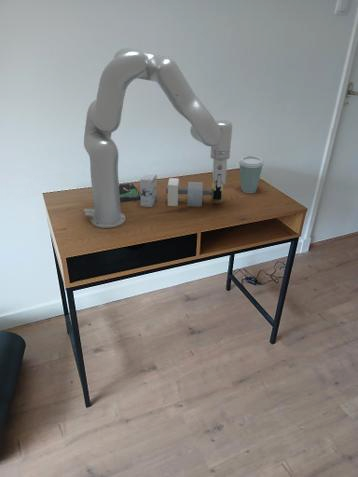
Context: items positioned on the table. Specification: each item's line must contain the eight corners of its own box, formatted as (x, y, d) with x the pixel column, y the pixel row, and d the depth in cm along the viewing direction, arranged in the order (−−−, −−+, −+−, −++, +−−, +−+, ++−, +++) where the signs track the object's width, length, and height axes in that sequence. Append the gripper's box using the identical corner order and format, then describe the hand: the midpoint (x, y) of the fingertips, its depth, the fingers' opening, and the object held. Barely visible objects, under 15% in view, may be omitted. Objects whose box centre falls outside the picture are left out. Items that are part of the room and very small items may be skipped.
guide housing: (187, 206, 151) (187, 187, 147) (187, 199, 157) (188, 181, 153) (201, 206, 150) (202, 188, 146) (201, 199, 156) (202, 182, 152)
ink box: (146, 198, 157) (145, 172, 151) (157, 199, 156) (157, 173, 150) (140, 206, 149) (139, 179, 144) (152, 207, 149) (151, 180, 143)
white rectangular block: (167, 205, 151) (167, 185, 146) (169, 198, 157) (169, 178, 153) (177, 206, 150) (177, 185, 146) (178, 198, 157) (178, 178, 153)
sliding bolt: (166, 200, 151) (166, 182, 147) (167, 196, 155) (167, 178, 151) (222, 203, 150) (223, 184, 146) (221, 198, 154) (223, 180, 150)
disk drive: (110, 191, 165) (117, 203, 152) (110, 185, 163) (116, 197, 151) (133, 188, 168) (141, 200, 155) (133, 183, 166) (141, 194, 154)
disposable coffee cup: (262, 195, 162) (266, 162, 154) (237, 195, 162) (241, 162, 154) (257, 186, 171) (261, 155, 164) (234, 186, 171) (237, 155, 164)
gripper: (231, 160, 135) (227, 205, 144) (228, 148, 150) (224, 189, 159) (210, 159, 135) (208, 204, 144) (210, 147, 150) (207, 188, 159)
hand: (216, 196), depth 151 cm, fingers closed on sliding bolt, 4 cm apart
